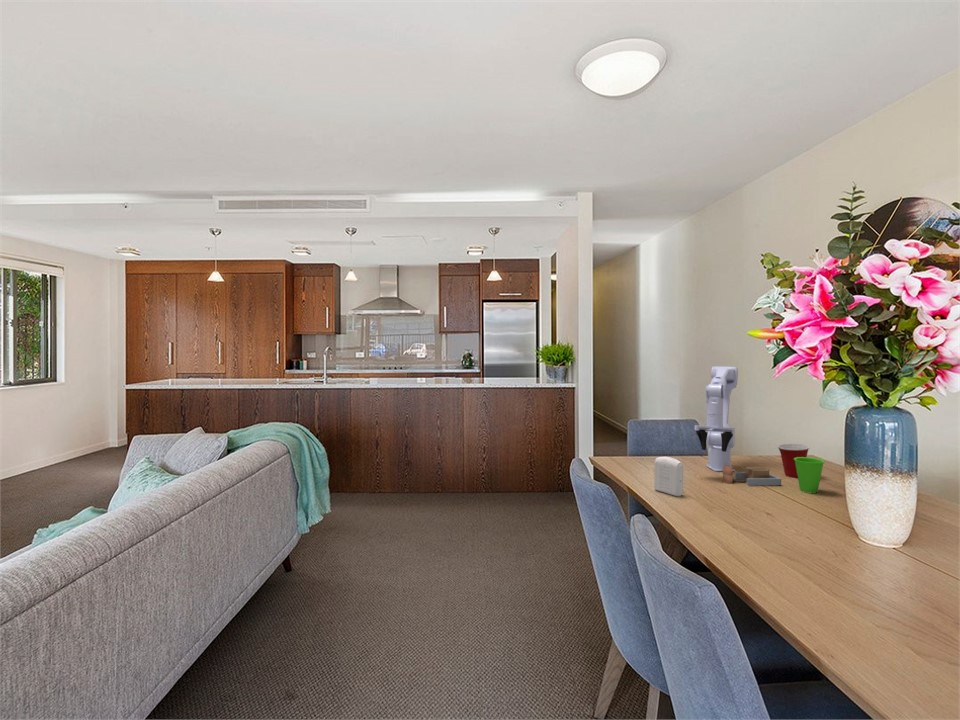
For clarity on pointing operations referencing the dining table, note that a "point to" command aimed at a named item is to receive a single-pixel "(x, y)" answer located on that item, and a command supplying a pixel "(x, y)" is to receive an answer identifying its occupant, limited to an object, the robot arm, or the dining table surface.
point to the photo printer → (669, 476)
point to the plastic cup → (792, 457)
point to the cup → (809, 473)
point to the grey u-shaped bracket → (759, 479)
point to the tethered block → (750, 473)
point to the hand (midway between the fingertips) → (713, 450)
